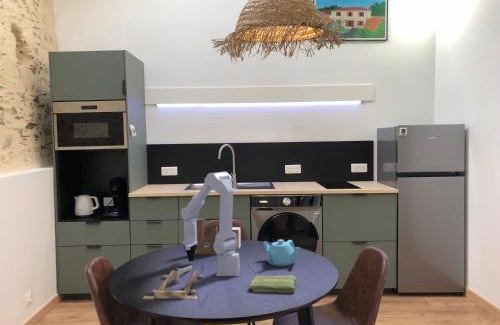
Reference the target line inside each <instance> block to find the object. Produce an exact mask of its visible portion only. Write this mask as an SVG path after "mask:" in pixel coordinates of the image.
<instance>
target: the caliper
mask: <svg viewBox="0 0 500 325" xmlns="http://www.w3.org/2000/svg"><path fill="white" fill-rule="evenodd" d="M192 268H193V266H192V265H188V266H186V267H184V268H180V267H176V268H175V275H174V282H175V283H174V284H179V283H180V280H181V277H183V275H184V274H185V273H186V272H188V271H191V270H192Z"/></svg>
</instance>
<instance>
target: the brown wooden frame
mask: <svg viewBox="0 0 500 325" xmlns="http://www.w3.org/2000/svg"><path fill="white" fill-rule="evenodd" d="M204 224H205V223H204V218H202V217H201V218H200V217H198V218H197V222H196V229H197V244H196V245H198V246H197V248H196V251H195V255H213V256H215V255H217V256H218V254H216V252H215V250H214V242H215V237H216V235H217V234H218V232H219V231H218V230H219V228H218V225H216V227H214V228H213V229H212V230H211V232H209V234H208V235H207V236H206V237H205V230H204V229H205V228H204V227H205V226H204ZM205 241H207V242H209V245H205Z"/></svg>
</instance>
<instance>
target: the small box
mask: <svg viewBox="0 0 500 325" xmlns="http://www.w3.org/2000/svg"><path fill="white" fill-rule="evenodd" d="M232 231H233V232H234V233H235V234H236V239H237V242H238V246H237V248H236V249H235V250H239V249H240V248H241V245H242V244H241V242H242V240H241V238H242V236H241V235H242V234H241V226H240V227H239V226H238V227H235V226H234V227H233V226H232Z"/></svg>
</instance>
